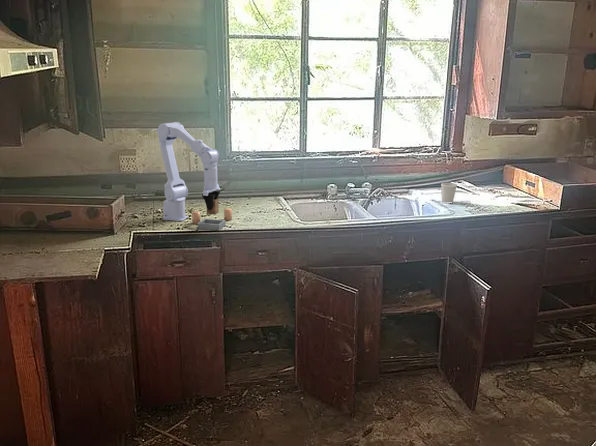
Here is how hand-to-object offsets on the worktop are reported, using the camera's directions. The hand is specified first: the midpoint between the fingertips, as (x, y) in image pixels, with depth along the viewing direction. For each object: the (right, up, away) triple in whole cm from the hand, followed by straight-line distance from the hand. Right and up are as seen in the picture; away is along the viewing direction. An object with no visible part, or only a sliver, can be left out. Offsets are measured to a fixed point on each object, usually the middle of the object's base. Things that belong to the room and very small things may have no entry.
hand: (211, 208), depth 251 cm
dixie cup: (+118, +4, +52) cm, 129 cm away
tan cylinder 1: (-8, -6, +8) cm, 13 cm away
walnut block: (0, -2, +1) cm, 2 cm away
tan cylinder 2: (+6, -5, +13) cm, 15 cm away
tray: (0, -8, +2) cm, 8 cm away
